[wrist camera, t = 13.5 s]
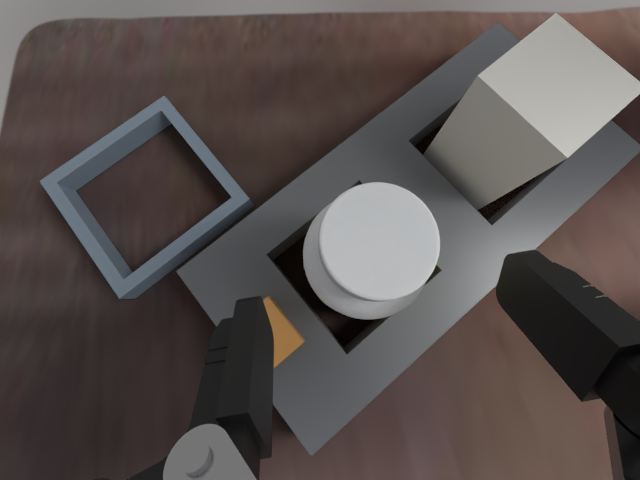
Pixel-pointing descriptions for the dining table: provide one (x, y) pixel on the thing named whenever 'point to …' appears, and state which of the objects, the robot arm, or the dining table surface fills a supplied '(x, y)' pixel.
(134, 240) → the dining table surface
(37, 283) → the dining table surface
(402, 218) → the supplement bottle
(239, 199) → the blue-grey square frame
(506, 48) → the socket strip
